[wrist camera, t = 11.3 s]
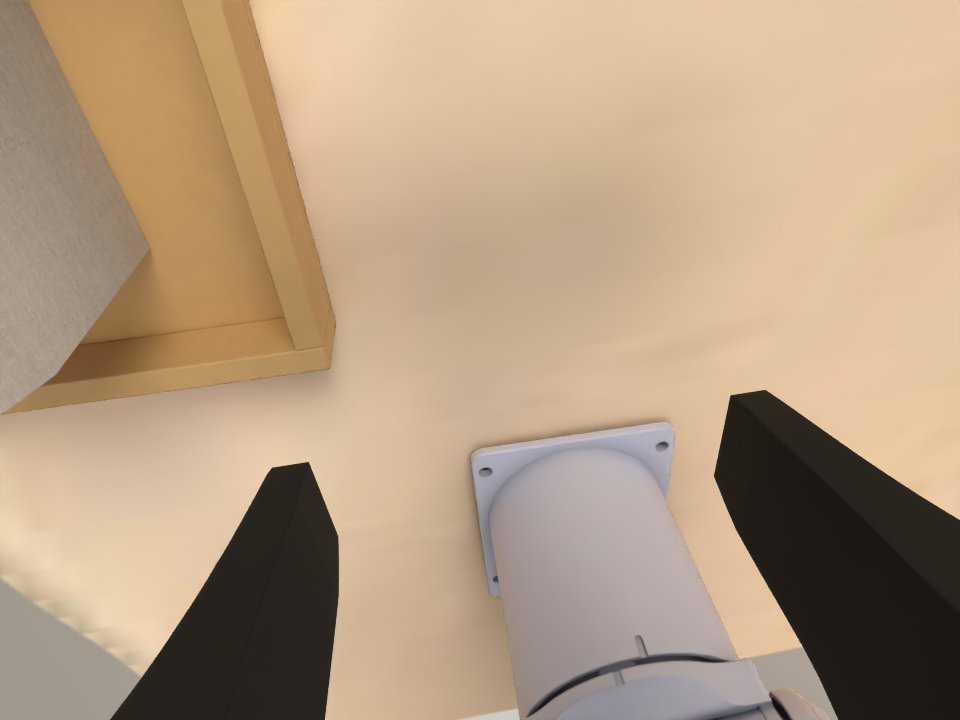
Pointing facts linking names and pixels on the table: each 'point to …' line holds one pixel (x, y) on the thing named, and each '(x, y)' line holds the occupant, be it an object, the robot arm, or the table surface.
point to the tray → (189, 203)
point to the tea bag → (51, 213)
